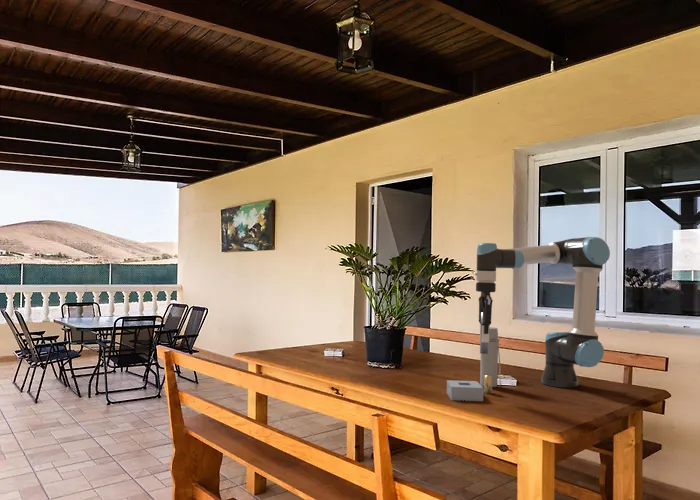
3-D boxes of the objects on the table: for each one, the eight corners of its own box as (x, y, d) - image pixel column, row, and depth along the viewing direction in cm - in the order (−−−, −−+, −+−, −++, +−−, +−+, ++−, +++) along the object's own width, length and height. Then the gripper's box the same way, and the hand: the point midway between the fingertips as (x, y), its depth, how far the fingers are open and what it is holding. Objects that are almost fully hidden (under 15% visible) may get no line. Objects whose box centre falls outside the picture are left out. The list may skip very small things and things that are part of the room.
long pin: (486, 352, 206) (488, 312, 207) (488, 354, 203) (489, 312, 204) (479, 352, 206) (480, 312, 207) (480, 353, 203) (482, 312, 204)
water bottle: (485, 388, 218) (486, 328, 219) (476, 384, 226) (477, 326, 227) (505, 387, 221) (505, 328, 222) (495, 383, 228) (495, 326, 229)
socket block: (476, 393, 209) (476, 381, 209) (483, 401, 197) (483, 387, 197) (446, 392, 209) (446, 380, 210) (451, 400, 197) (451, 386, 198)
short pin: (491, 392, 212) (491, 374, 212) (492, 393, 209) (492, 376, 209) (483, 392, 212) (483, 374, 212) (485, 393, 209) (485, 376, 209)
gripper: (472, 281, 214) (470, 338, 213) (480, 281, 198) (479, 343, 197) (490, 282, 214) (489, 339, 212) (500, 282, 198) (499, 344, 196)
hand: (484, 341), depth 205 cm, fingers closed on long pin, 3 cm apart
